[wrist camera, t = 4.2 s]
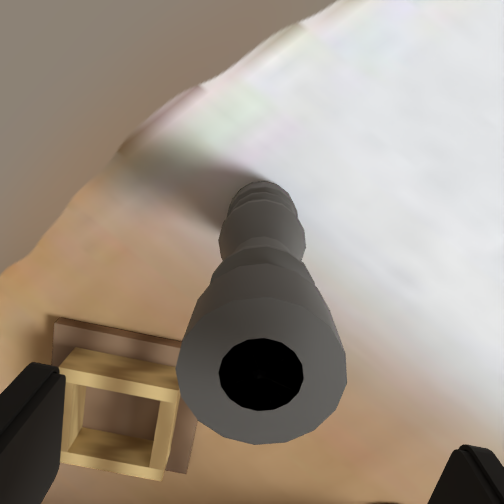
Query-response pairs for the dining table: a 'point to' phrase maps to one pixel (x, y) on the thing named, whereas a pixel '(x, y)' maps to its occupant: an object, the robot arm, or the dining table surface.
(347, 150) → the dining table surface
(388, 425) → the dining table surface
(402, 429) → the dining table surface
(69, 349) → the socket base
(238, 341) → the candle holder
